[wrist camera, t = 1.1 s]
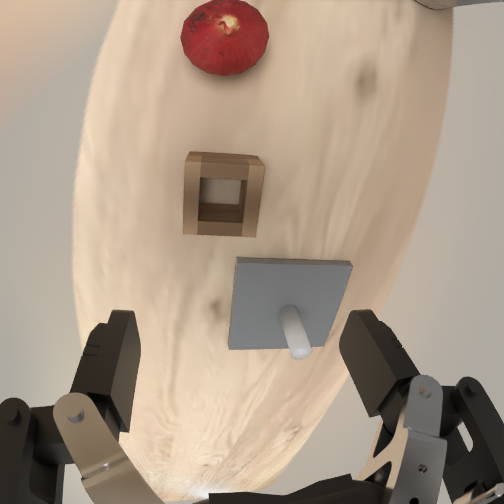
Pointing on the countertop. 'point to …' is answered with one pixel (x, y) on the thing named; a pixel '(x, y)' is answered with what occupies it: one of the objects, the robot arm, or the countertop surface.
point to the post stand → (285, 303)
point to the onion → (224, 36)
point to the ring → (222, 215)
